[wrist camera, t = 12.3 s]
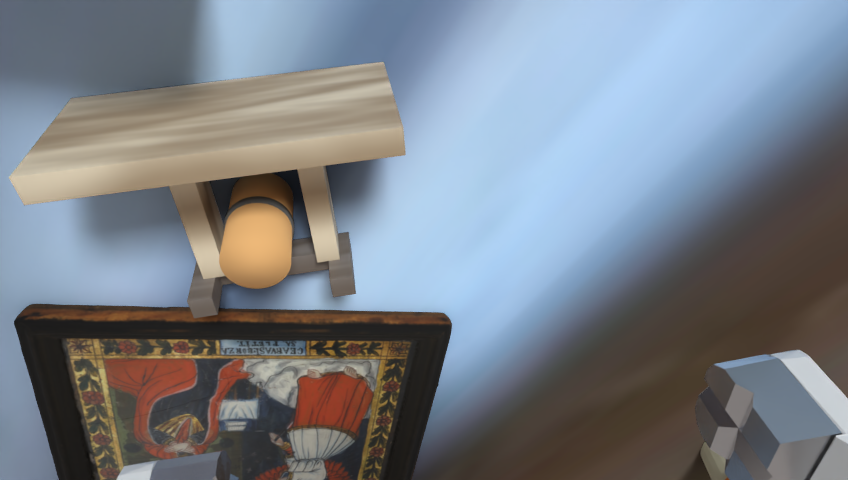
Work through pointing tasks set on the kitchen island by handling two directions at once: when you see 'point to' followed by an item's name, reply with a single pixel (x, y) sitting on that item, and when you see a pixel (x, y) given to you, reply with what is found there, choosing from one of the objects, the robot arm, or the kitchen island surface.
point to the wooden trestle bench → (223, 154)
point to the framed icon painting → (234, 388)
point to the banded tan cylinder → (258, 232)
